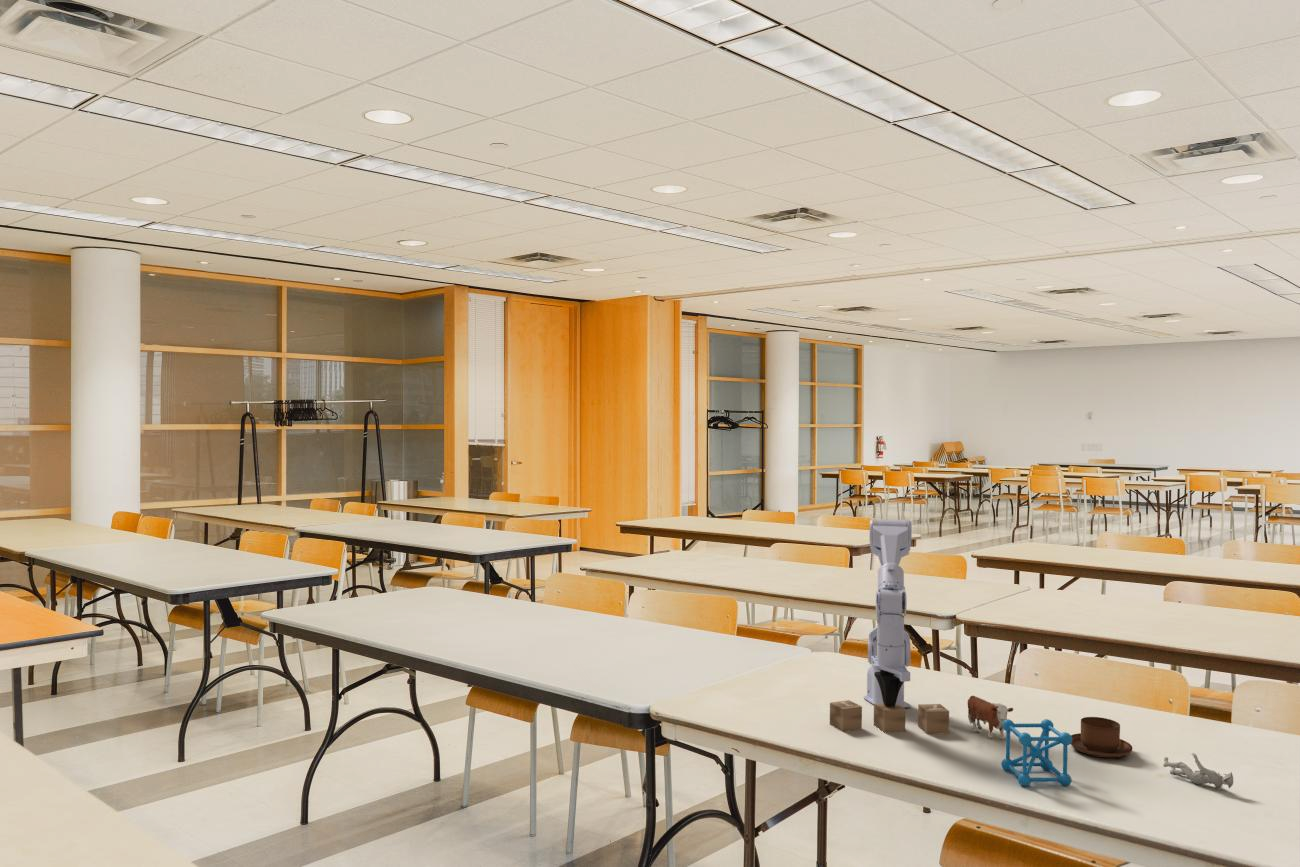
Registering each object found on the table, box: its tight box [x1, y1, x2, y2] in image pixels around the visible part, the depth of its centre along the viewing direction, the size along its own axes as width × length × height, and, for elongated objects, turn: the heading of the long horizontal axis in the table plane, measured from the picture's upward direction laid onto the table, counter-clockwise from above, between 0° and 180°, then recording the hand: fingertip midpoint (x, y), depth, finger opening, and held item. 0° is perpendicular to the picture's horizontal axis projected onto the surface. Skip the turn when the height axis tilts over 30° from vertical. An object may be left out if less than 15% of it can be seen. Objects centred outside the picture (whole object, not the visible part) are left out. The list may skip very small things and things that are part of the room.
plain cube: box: [873, 703, 906, 734], centre depth 209 cm, size 5×5×5 cm
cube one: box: [829, 699, 863, 732], centre depth 210 cm, size 5×5×5 cm
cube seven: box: [917, 703, 950, 735], centre depth 208 cm, size 5×5×5 cm
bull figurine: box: [967, 695, 1014, 741], centre depth 205 cm, size 4×13×8 cm, turn 16°
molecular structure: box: [1000, 718, 1073, 787], centre depth 181 cm, size 10×10×10 cm
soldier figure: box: [1163, 752, 1234, 789], centre depth 179 cm, size 8×5×12 cm
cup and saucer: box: [1070, 716, 1133, 759], centre depth 196 cm, size 12×12×6 cm
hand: (889, 705), depth 209 cm, fingers closed
